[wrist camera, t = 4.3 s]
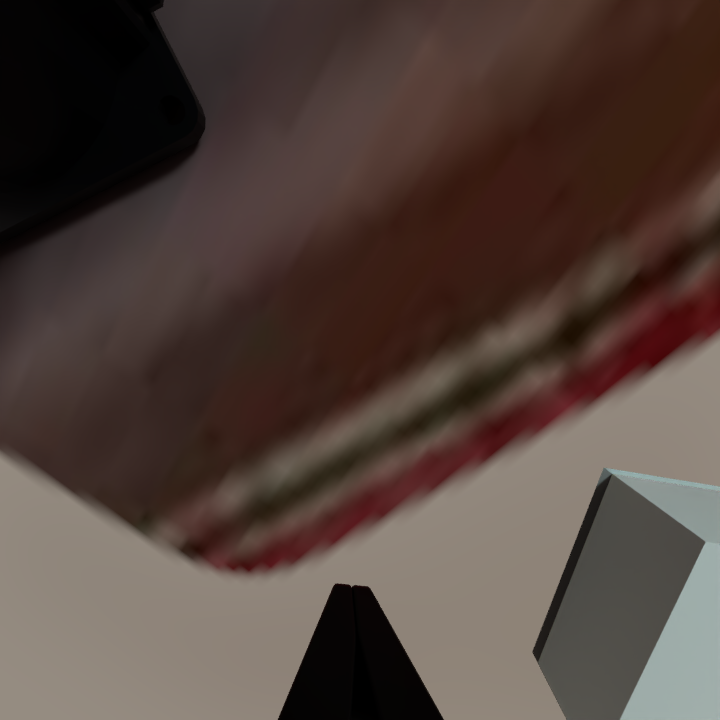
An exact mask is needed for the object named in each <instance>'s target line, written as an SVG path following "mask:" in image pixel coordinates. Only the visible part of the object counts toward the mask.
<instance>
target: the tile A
mask: <svg viewBox="0 0 720 720" xmlns="http://www.w3.org/2000/svg"><path fill="white" fill-rule="evenodd" d="M532 653H533V655H534V657H535V658H536V661H537V662H538V664H539V666H540V668H541V670H542V672H543V674H544V676H545V678H546V680H547V682H548V684H549V686H550V688H551V690H552V692H553V694H554V695H555V698H556V700H557V702H558V704H559V706H560V707H561V709H562V711H563V713H564V715H565V717H566V719H567V720H720V486H713V485H707V484H701V483H695V482H688V481H683V480H677V479H671V478H664V477H658V476H652V475H646V474H639V473H634V472H628V471H622V470H615V469H609V468H603V471H602V473H601V476H600V478H599V481H598V484H597V486H596V489H595V491H594V494H593V497H592V499H591V502H590V504H589V507H588V509H587V512H586V514H585V517H584V520H583V522H582V525H581V527H580V530H579V533H578V535H577V538H576V540H575V543H574V545H573V548H572V551H571V553H570V556H569V559H568V561H567V563H566V566H565V569H564V571H563V574H562V576H561V579H560V582H559V584H558V587H557V589H556V592H555V594H554V597H553V600H552V602H551V605H550V607H549V610H548V612H547V615H546V618H545V620H544V623H543V625H542V628H541V630H540V633H539V636H538V638H537V641H536V643H535V646H534V648H533V651H532Z"/></svg>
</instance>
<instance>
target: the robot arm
mask: <svg viewBox="0 0 720 720" xmlns="http://www.w3.org/2000/svg"><path fill="white" fill-rule="evenodd" d="M163 2H164V0H0V243H2V242H4V241H6V240H8V239H10V238H12V237H14V236H16V235H18V234H20V233H22V232H24V231H26V230H27V229H29V228H31V227H33V226H35V225H37V224H39V223H41V222H43V221H45V220H47V219H49V218H51V217H53V216H55V215H57V214H59V213H60V212H62V211H64V210H66V209H68V208H70V207H72V206H74V205H76V204H78V203H80V202H82V201H84V200H86V199H88V198H90V197H92V196H93V195H95V194H97V193H99V192H101V191H103V190H105V189H107V188H109V187H111V186H113V185H115V184H117V183H119V182H121V181H123V180H124V179H126V178H128V177H130V176H132V175H134V174H136V173H138V172H140V171H142V170H144V169H146V168H148V167H150V166H152V165H154V164H156V163H157V162H159V161H161V160H163V159H165V158H167V157H169V156H171V155H173V154H175V153H177V152H179V151H181V150H183V149H185V148H187V147H189V146H190V145H192V144H194V143H195V142H196V141H198V140H199V139H200V138H201V136H202V134H203V132H204V130H205V116H204V112H203V109H202V107H201V105H200V103H199V101H198V99H197V97H196V95H195V93H194V91H193V89H192V87H191V85H190V83H189V81H188V79H187V77H186V75H185V73H184V71H183V69H182V67H181V65H180V63H179V61H178V59H177V57H176V55H175V53H174V52H173V50H172V48H171V46H170V44H169V42H168V40H167V38H166V36H165V34H164V32H163V30H162V28H161V26H160V24H159V22H158V20H157V18H156V16H155V14H154V11H156V10H157V9H159V8H161V7H163ZM176 105H182V106H184V108H185V116H184V119H183V120H182V121H181V122H180V123H179V124H176V125H170V124H169V121H168V118H167V117H168V113H169V110H170V109H171V108H172V107H173V106H176ZM278 720H444V719H443V717H442V716H441V714H440V712H439V710H438V708H437V707H436V705H435V703H434V701H433V699H432V698H431V696H430V694H429V692H428V691H427V689H426V687H425V685H424V683H423V682H422V680H421V678H420V676H419V674H418V673H417V671H416V669H415V667H414V666H413V664H412V662H411V660H410V659H409V657H408V655H407V653H406V651H405V649H404V648H403V646H402V644H401V643H400V641H399V639H398V637H397V635H396V633H395V632H394V630H393V628H392V626H391V624H390V623H389V621H388V619H387V617H386V616H385V614H384V612H383V610H382V608H381V607H380V605H379V603H378V601H377V599H376V598H375V596H374V594H373V592H372V591H371V589H370V588H369V587H367V586H357V585H354V586H352V587H351V586H350V585H347V584H335V585H334V586H333V588H332V591H331V593H330V595H329V598H328V600H327V603H326V605H325V607H324V610H323V612H322V615H321V618H320V620H319V622H318V624H317V627H316V629H315V631H314V634H313V636H312V639H311V641H310V644H309V646H308V648H307V651H306V653H305V655H304V658H303V660H302V663H301V665H300V667H299V670H298V672H297V675H296V677H295V679H294V682H293V684H292V687H291V689H290V692H289V694H288V696H287V699H286V701H285V703H284V706H283V708H282V711H281V713H280V716H279V718H278Z"/></svg>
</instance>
